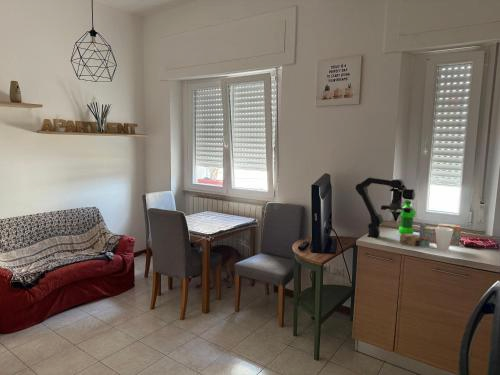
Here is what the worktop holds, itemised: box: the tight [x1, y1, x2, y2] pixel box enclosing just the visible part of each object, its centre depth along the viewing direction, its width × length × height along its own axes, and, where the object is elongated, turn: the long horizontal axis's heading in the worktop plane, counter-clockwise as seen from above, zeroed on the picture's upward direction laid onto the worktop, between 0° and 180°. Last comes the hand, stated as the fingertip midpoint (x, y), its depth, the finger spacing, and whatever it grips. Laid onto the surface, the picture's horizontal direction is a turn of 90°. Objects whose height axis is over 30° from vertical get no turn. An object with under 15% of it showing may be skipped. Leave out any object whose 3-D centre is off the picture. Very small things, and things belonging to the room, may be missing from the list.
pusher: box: [418, 222, 427, 239], centre depth 221 cm, size 2×6×9 cm, turn 141°
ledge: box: [399, 233, 425, 247], centre depth 225 cm, size 12×10×5 cm
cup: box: [418, 239, 431, 248], centre depth 221 cm, size 6×6×4 cm
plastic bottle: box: [398, 199, 416, 236], centre depth 245 cm, size 10×10×25 cm
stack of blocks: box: [424, 223, 462, 246], centre depth 230 cm, size 21×6×12 cm, turn 69°
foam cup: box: [435, 226, 453, 252], centre depth 214 cm, size 10×9×13 cm
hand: (395, 221), depth 231 cm, fingers closed
